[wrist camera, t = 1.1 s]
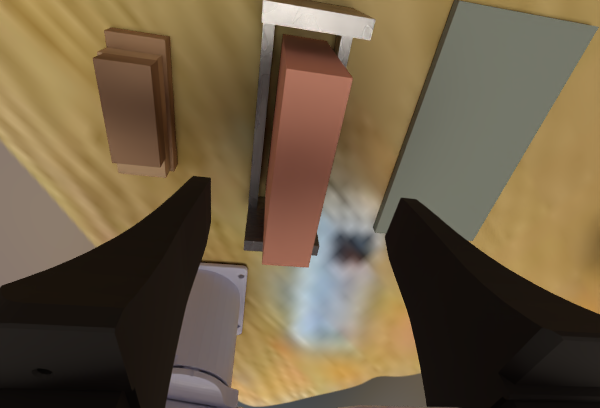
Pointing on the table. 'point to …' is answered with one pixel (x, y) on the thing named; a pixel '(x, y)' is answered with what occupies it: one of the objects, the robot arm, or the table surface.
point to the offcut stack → (138, 101)
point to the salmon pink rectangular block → (302, 147)
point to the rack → (276, 11)
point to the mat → (481, 110)
